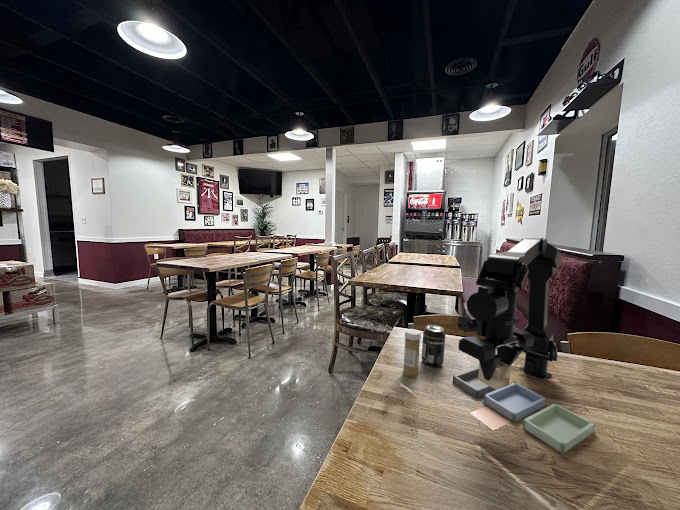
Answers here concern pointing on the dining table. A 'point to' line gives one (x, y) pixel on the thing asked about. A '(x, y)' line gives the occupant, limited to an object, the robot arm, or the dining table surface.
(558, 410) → the green tray
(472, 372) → the charcoal tray
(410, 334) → the sprinkles bottle
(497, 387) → the letter cube
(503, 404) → the slate tray
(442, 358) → the beverage can
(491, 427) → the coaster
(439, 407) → the dining table surface
